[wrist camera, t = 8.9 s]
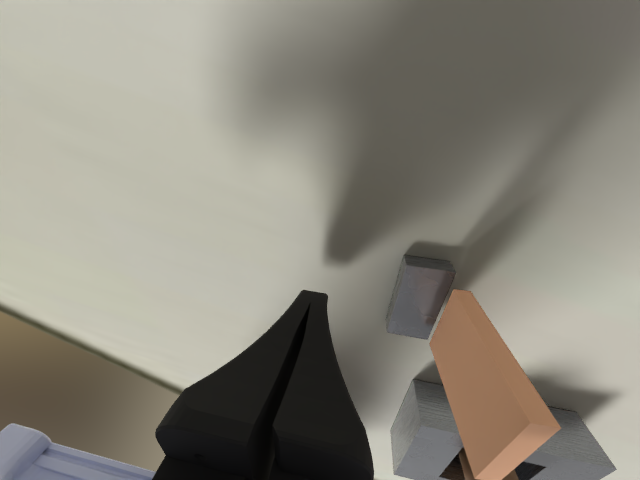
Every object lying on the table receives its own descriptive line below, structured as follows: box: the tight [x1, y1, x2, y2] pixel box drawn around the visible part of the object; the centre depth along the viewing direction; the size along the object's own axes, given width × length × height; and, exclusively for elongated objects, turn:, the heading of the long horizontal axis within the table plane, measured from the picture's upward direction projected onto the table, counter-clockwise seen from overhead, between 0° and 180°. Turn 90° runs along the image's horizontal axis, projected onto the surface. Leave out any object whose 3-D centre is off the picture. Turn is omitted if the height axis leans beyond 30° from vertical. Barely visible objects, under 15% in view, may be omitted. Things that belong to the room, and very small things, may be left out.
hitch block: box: [391, 379, 617, 480], centre depth 18 cm, size 8×11×3 cm
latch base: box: [386, 255, 456, 339], centre depth 13 cm, size 5×2×1 cm, turn 176°
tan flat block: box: [429, 289, 561, 480], centre depth 10 cm, size 4×1×6 cm, turn 177°
